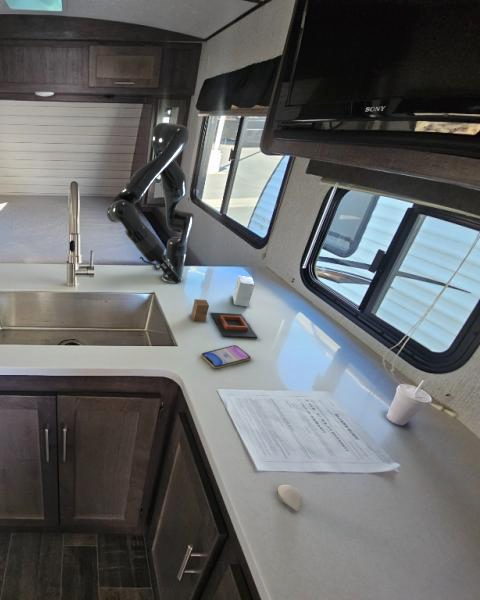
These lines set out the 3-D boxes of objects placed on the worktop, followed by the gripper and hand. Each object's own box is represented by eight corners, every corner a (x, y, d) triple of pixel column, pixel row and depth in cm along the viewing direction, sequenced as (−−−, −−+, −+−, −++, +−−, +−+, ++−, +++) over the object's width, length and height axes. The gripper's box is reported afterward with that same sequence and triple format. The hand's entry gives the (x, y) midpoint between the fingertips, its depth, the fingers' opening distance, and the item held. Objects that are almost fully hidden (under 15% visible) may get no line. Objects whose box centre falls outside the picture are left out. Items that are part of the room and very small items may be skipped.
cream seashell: (292, 489, 68) (297, 482, 66) (306, 514, 63) (311, 507, 62) (272, 488, 68) (276, 481, 67) (284, 513, 63) (288, 506, 62)
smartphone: (252, 359, 105) (253, 357, 104) (214, 370, 100) (215, 367, 100) (235, 346, 111) (235, 344, 110) (199, 355, 106) (199, 353, 106)
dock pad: (210, 314, 130) (211, 309, 129) (240, 315, 129) (242, 311, 128) (223, 337, 116) (224, 332, 115) (257, 339, 115) (258, 334, 114)
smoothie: (378, 419, 84) (405, 379, 78) (381, 406, 88) (407, 367, 82) (411, 434, 80) (442, 393, 74) (412, 419, 84) (442, 379, 78)
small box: (248, 307, 135) (255, 284, 130) (233, 304, 137) (240, 282, 132) (246, 298, 142) (252, 277, 137) (232, 296, 144) (238, 275, 138)
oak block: (191, 315, 129) (194, 299, 125) (202, 316, 128) (206, 299, 125) (193, 321, 125) (197, 304, 121) (205, 321, 125) (209, 305, 121)
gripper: (161, 245, 106) (189, 278, 111) (155, 233, 118) (180, 263, 123) (143, 259, 109) (171, 291, 114) (138, 246, 121) (164, 275, 126)
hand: (176, 277), depth 119 cm, fingers open, 8 cm apart
